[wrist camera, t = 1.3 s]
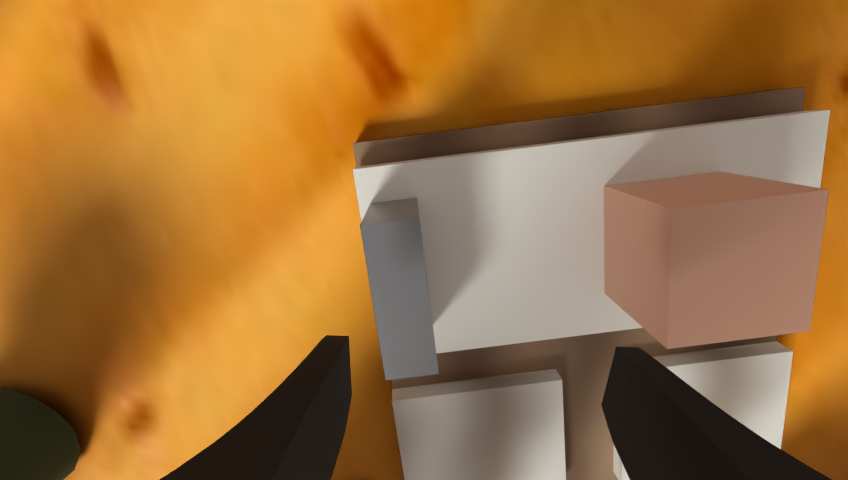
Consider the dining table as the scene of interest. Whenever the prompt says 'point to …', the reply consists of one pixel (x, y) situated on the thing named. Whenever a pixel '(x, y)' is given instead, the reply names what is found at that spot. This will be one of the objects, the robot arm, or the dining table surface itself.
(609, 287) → the block
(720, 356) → the board
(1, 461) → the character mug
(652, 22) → the dining table surface
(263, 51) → the dining table surface
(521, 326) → the white tray
